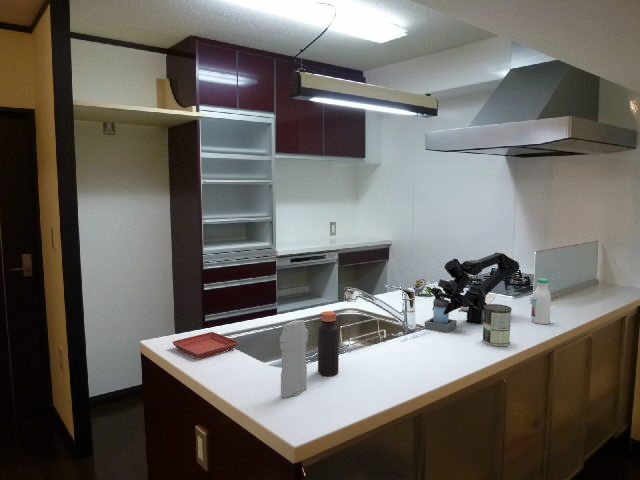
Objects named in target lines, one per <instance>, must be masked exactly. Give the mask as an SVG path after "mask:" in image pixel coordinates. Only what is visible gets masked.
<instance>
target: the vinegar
mask: <svg viewBox="0 0 640 480" xmlns="http://www.w3.org/2000/svg"><path fill="white" fill-rule="evenodd" d="M320 322H321V325H319V326H318V328H317V373H318V375H321V376H324V377H334V376H336V375H338V373H339V360H340V359H339V353H340V351H339V350H340V349H339V348H340V347H339V346H340V345H339V344H340V343H339V341H340V337H339V336H340V329H339V328H340V327H339V326H337V324H336V323H337V312H335V311H331V310H329V311H327V310H326V311H322V312H320Z"/></svg>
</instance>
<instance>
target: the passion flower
mask: <svg viewBox="0 0 640 480" xmlns="http://www.w3.org/2000/svg"><path fill="white" fill-rule="evenodd" d="M426 279H427V278H426V277H423V278H420V279H416V280H414V283H413V285H412V286H411V287H410V289H411V288H412V290H413V291H414V292H415V293H414V294H415V296H419V295H422V294H423V291H424V292H425V293H426V294H427V296H429V297H432V293H431V290H432V288H437V287H436V285H435V284H434V285H431V286H429V284H430V283H431V281H430V280H428V281H426ZM431 287H432V288H431Z"/></svg>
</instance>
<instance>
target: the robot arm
mask: <svg viewBox="0 0 640 480" xmlns="http://www.w3.org/2000/svg"><path fill="white" fill-rule="evenodd" d="M519 263H520V262H518V261H516V260H514V259H513V258H511V257H509V256H507V254H505V253H502V252H494V253H493V254H490V255H487V256H485V257H482V258H479V259H474V260H472V259H471V260H464V261H462V263H461V262H460V261H459V259H458V258H453V259H452V260H449V261H448V262H446V263H445V264H444V270H445V271H446V272H447V273H448V274H449V276H450V277H451V278H453V280H450V281H448V280H444V279H439V281H438V284H437V287H436V288H435V287H432V288H431V289H432V290H430V291H431V295H432V296H434V299H447V300H449V301H450V303H449V305H448V306H447V308H446V309H445V311H444V314H445V315H446V314H448V313H449V314H450V313H451V312H454V311H455V310H459V309H461V308H462V307H465V308H467V307H469V308H468V311H466V322H468V323H473V324H483V321H484V305H487V303H486V302H485V300H486V295H487V294H490V292H492V290H493V289H495V287H497V286H498V285H499V284H500V283H501V282H503V280H504V279H506V278H507V277H511V276H514V275H515V274H517V273H518V271H520V264H519ZM494 265H497V269H496V270H495V271H494V273H492V274H491V275H490V276H489V277H488V278H486V280H484V281H483V282H482V283H481V284H480V285H479V286H478V287H476V286H471V287H469V288H468V290H466V291H465V290H464V289H465V288H466V287H467V285H468V284H472V285H473V281H474V280H473V278H472V277H471V276H478V275H479V274H481V273H482V271H483V270H485V269H486V268H490V267H491V266H494ZM470 275H471V276H470ZM438 287H439V288H438ZM432 311H433V312H434V305H433V306H432Z"/></svg>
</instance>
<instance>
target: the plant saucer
mask: <svg viewBox="0 0 640 480" xmlns="http://www.w3.org/2000/svg"><path fill="white" fill-rule="evenodd" d="M172 344H173V345H174V346H175V348H176V349H178V350H179V351H181V352H184V353H186V354H187V355H189V354H190V355H189V356H191V355H192V356H191V357H193V356H194V357H193V358H196V359H198V358H201V359H204V358H208V357H210V355H211V356H214V355H213V354H215V355H218V354H220V352H222V353H225V352H228V351H227V350H229V351H232V350H233V349H235V347H236V346H237V345H238V344H239V341H237V340H234V339H232V338H229V337H227V336H224V335H223V334H219V333H218V332H215V331H214V332H213V331H209V332H205V333H202V334H197V335H192V336H189V337H184V338H180V339H177V340H172ZM231 349H232V350H231ZM224 351H225V352H224ZM217 353H218V354H217ZM207 356H208V357H207ZM203 357H204V358H203Z"/></svg>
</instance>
